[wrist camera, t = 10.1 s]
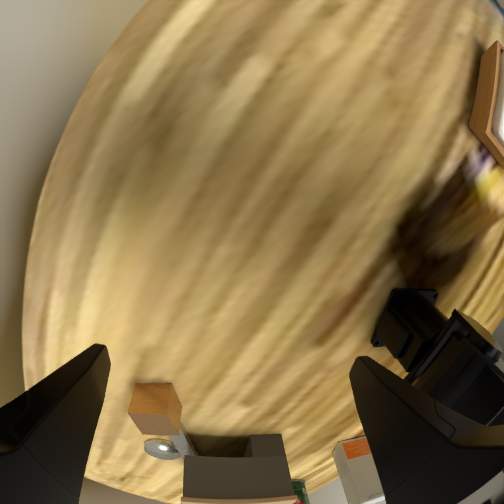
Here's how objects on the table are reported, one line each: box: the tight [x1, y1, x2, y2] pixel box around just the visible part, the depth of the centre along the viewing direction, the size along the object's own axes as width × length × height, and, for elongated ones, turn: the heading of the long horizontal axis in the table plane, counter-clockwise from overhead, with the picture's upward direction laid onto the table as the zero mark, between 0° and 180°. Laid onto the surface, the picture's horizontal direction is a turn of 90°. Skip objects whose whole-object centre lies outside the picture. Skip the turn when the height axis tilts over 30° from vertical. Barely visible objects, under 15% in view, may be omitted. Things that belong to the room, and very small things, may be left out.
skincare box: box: [332, 436, 385, 504], centre depth 28 cm, size 6×4×12 cm
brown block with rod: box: [128, 383, 199, 458], centre depth 26 cm, size 4×17×4 cm, turn 5°
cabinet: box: [181, 434, 298, 504], centre depth 26 cm, size 12×11×10 cm
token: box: [144, 439, 180, 460], centre depth 29 cm, size 5×5×1 cm
